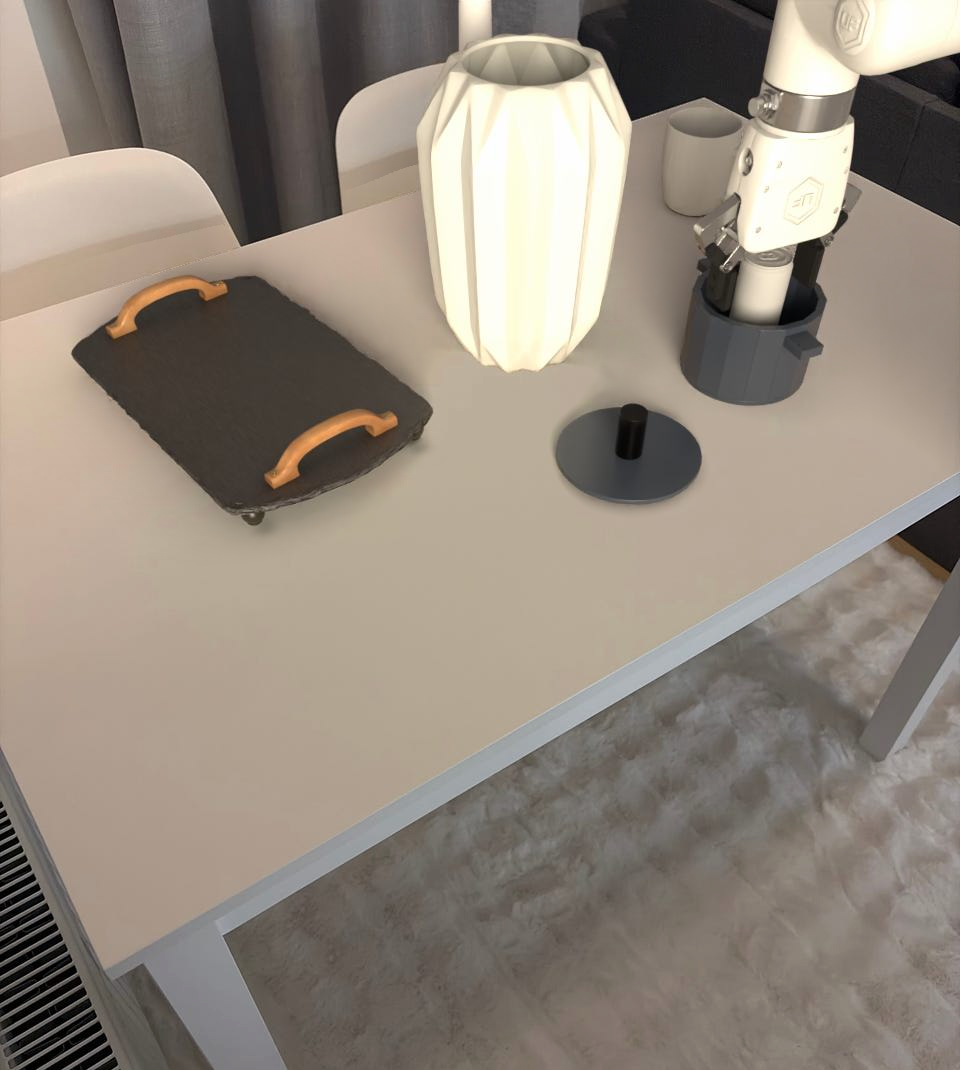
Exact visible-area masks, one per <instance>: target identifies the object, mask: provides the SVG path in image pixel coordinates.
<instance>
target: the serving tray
mask: <svg viewBox="0 0 960 1070" xmlns="http://www.w3.org/2000/svg"><path fill="white" fill-rule="evenodd" d="M70 355H71V357H72V359H73V360H74V362H76V363H77V364H78V366H80V367H81V368H82V370H84V371H85V372H86V374H88V376H89V377H90V378H91V379H93V380H94V382H95V383H96V384H98V385H99V386H100V387H101V389H103V390H104V391H105V393H106V395H107V396H108V397H110V398H111V399H112V400H113V401H115V402H116V403H117V404H118V406H119V407H120V408H121V409H123V410H124V411H125V413H126V415H127V416H129V417H130V418H131V419H132V420H133V421H135V422H136V423H137V424H138V426H139V427H140V428H139V429H141V430H143V431H144V432H146V434H148V436H149V438H150V439H152V440H153V441H154V442H155V443H156V444H157V445H158V446H159V447H160V448H161V450H162V451H163V452H165V453H166V455H168V456H169V457H170V458H171V459H172V460H173V461H174V462H175V463H176V465H178V466H179V467H181V468H182V470H183V471H185V473H186V474H187V475H188V476H189V477H190V478H191V480H192V481H194V482H195V483H196V484H197V485H198V486H199V487H200V488H201V489H202V490H203V491H204V492H205V493H206V494H207V495H208V496H209V497H210V498H211V499H212V500H213V501H214V502H215V504H217V505H218V506H219V507H220V508H221V509H222V510H223V511H225V512H226V513H228V514H229V515H232V516H240V517H241V518H242V520H243V521H244V522H245V523H247V524H248V525H249V526H258V525H260V524H261V523H262V522H263V520H264V517H265V514H266V512H271V511H272V512H273V511H275V510H277V509H279V508H281V507H287V506H293V505H295V504H299V503H302V502H306V501H308V500H309V501H310V500H312V499H314V498H316V497H318V496H321V495H322V494H325V493H327V492H330V491H332V490H335V489H337V488H340V487H342V486H345V485H348V484H351V483H352V482H355V481H357V480H358V479H360V478H362V477H363V476H365V475H367V474H369V473H370V472H372V471H373V470H375V469H376V468H378V467H380V466H381V465H383V464H384V463H385V462H386V461H387V460H389V459H390V458H391V457H393V456H394V455H396V454H397V453H399V452H401V450H403V449H404V448H405V447H406V446H407V445H409V443H410V442H413V441H418V440H419V439H420V438H421V436H422V435H423V433H424V430H425V426H426V425H427V424H428V423H429V421H430V420H431V418H432V416H433V414H434V409H433V406H432V405H431V404H430V403H429V402H428V400H427V399H426V398H425V397H423V396H422V395H421V394H419V393H418V392H416V391H415V390H414V389H412V388H411V387H410V386H409V385H407V384H406V383H404V382H403V381H401V380H400V379H399V378H397V376H395V375H394V374H392V373H391V372H390V371H389V370H388V369H386V367H384V366H383V365H381V364H380V363H379V362H377V360H374V359H372V358H371V357H369V356H367V355H365V354H364V353H362V352H360V351H359V350H358V349H357V348H356V347H355V346H354V345H353V344H352V343H351V342H350V341H349V340H348V339H347V338H345V337H344V336H343V335H342V334H341V333H339V332H338V331H336V330H334V329H332V328H330V327H329V326H328V325H327V324H326V323H325V322H322V321H320V320H319V318H317V317H316V315H315V314H312V313H311V311H310V310H309V309H308V308H306V307H304V306H301V305H299V303H297V302H296V301H293V300H291V298H289V297H288V296H287V295H285V294H283V292H281V291H280V290H279V289H278V288H277V287H275V286H273V285H272V284H270V283H269V282H268V281H267V280H266V279H264V278H263V277H260V276H258V275H238V276H233V277H231V278H225V279H218V280H212V281H208V280H206V279H204V278H202V277H199V276H197V275H195V274H194V275H193V274H183V275H177V276H173V277H170V278H169V277H168V278H167V279H164V280H161V281H158V282H156V283H154V284H151V285H149V286H147V287H144V288H143V289H141V290H140V291H138V292H136V293H135V294H133V295H132V296H131V297H129V298H128V299H127V300H126V302H125V303H124V305H123V306H122V308H121V309H120V312H119V313H118V315H116V316H114V317H113V318H112V319H110V320H109V321H107V322H105V323H104V324H102V325H100V326H99V327H98V328H97V329H95V330H94V331H93V332H91V333H90V334H89V335H88V336H86V337H83V338H81V340H79V341H78V342H77V343H76V344H75V346H74V347H73V348H72V350H71V351H70Z"/></svg>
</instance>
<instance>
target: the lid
mask: <svg viewBox="0 0 960 1070" xmlns="http://www.w3.org/2000/svg"><path fill="white" fill-rule="evenodd" d="M555 460H556V461H555V462H556V465H557V467H558V469H559V471H560V472H561V474H562V475H563V477H564V478H565V479H566V480H567V481H568V482H569V483H570V484H571V485H572V486H573V487H575V488H577V490H579V491H581V492H583V493H584V494H586V495H588V496H591V497H593V498H595V499H598V500H602V501H605V502H610V503H614V504H619V505H649V504H654V503H659V502H663V501H666V500H668V499H671V498H674V497H676V496H677V495H680V494H681V493H683V492H684V491H685V490H687V489H689V487H690V486H691V485H692V484H693V483H694V482H695V480H696V479H697V477H698V475H699V474H700V471H701V467H702V463H703V462H702V461H703V455H702V449H701V446H700V444H699V442H698V440H697V438H696V437H695V436H694V434H693V433H692V432H691V431H690V430H689V429H688V428H687V427H686V426H684V425H683V424H682V423H680V422H679V421H677V420H675V419H674V418H672V417H670V416H668V415H666V414H663V413H660V412H658V411H654V410H651V409H647V407H645V406H644V405H643V404H639V403H635V402H634V403H632V402H631V403H626V404H624V405H622V406H613V407H606V408H605V407H604V408H600V409H595V410H592V411H590V412H586V413H585V414H581V415H580V416H577V417H576V418H575V419H573V420H572V421H571V422H569V423H568V424H567V425H566V426H565V427H564V428H563V429H562V431H561V432H560V434H559V435H558V437H557V440H556V444H555Z"/></svg>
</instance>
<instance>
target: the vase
mask: <svg viewBox="0 0 960 1070" xmlns="http://www.w3.org/2000/svg"><path fill="white" fill-rule="evenodd" d="M632 131H633V122H632V120H631V118H630V115H629V112H628V110H627V107H626V105H625V102H624V101H623V98H622V97H621V94H620V91H619V89H618V86H617V85H616V82H615V80H614V78H613V76H612V73H611V70H610V68H609V67H608V64H607V62H606V60H605V58H604V56H603V54H602V53H601V51H599V50H597V49H594V48H591V47H587V46H583V45H582V44H581V43H580V41H579V40H578V39H576V38H571V37H554V36H551V35H550V34H546V33H544V32H533V33H527V34H514V33H501V34H496V35H495V36H492V38H491V39H487V40H476V41H471V42H468V43H467V45H466V46H465V48H464V49H463V50H461V51H459V50H458V51H456V52H453V53H451V54H450V55H449V56H448V57H447V59H446V61H445V63H444V64H443V67H442V69H441V71H440V73H439V75H438V78H437V80H436V82H435V85H434V86H433V89H432V91H431V94H430V96H429V98H428V101H427V103H426V105H425V107H424V110H423V112H422V115H421V117H420V119H419V122H418V124H417V127H416V146H417V147H416V148H417V159H418V160H417V161H418V172H419V183H420V190H421V191H420V192H421V199H422V207H423V215H424V216H423V217H424V223H425V224H424V225H425V232H426V233H425V234H426V241H427V247H428V248H427V249H428V256H429V257H428V258H429V264H430V270H431V271H430V272H431V275H432V284H433V290H434V297H435V301H436V303H437V304H438V306H439V307H438V308H440V310H441V312H442V313H443V315H444V317H445V319H446V321H447V324H448V327H449V328H450V330H451V331H452V333H453V334H454V336H455V338H456V339H457V340H458V342H459V344H461V346H462V348H463V349H464V350H465V351H466V352H467V353H469V354H471V355H472V356H473V357H474V359H475V360H476V361H477V362H478V363H479V364H480V365H482V366H484V367H495V368H499V369H500V370H501V371H503V372H505V373H508V374H511V373H515V372H519V371H526V372H531V373H537V372H538V373H539V372H540V371H542V370H543V369H544V368H545V367H547V366H551V365H559V364H561V363H563V362H564V361H566V359H567V358H568V357H569V356H570V355H571V354H572V353H573V351H574V350H575V348H576V347H577V346H578V345H579V344H580V342H581V341H582V340H583V339H584V337H585V336H586V335H587V334H588V333H589V331H590V330H591V329H592V328H593V327H594V325H595V324H596V323H597V321H598V320H599V315H600V311H601V306H602V301H603V300H604V297H605V294H606V290H607V284H608V280H609V274H610V270H611V266H612V265H611V264H612V259H613V254H614V250H615V249H614V248H615V242H616V236H617V230H618V227H619V226H618V225H619V220H620V213H621V209H622V201H623V195H624V191H625V184H626V177H627V172H628V171H627V170H628V163H629V156H630V147H631V140H632V133H633V132H632Z"/></svg>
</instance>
